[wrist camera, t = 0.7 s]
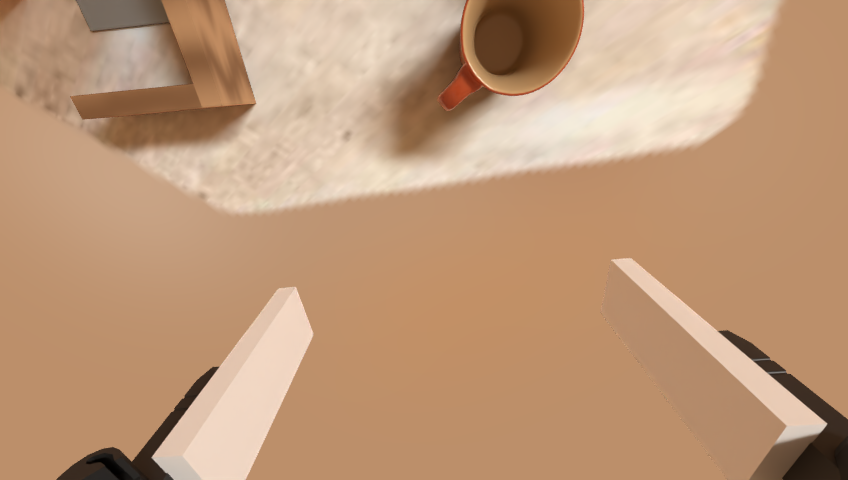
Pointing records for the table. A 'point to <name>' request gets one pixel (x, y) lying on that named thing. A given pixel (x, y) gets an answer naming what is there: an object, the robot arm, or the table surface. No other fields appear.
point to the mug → (513, 46)
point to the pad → (122, 13)
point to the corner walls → (206, 62)
